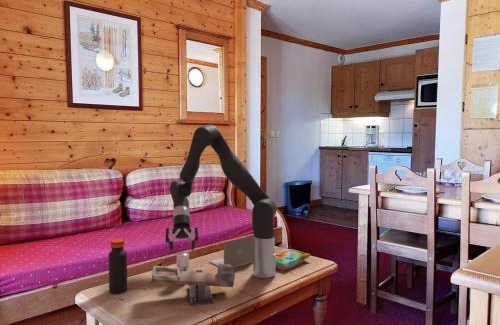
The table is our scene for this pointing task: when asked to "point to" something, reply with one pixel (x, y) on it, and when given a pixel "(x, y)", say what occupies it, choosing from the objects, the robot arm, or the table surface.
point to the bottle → (117, 267)
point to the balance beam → (194, 276)
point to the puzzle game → (290, 259)
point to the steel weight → (183, 261)
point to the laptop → (237, 252)
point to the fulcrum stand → (200, 294)
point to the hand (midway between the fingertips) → (182, 250)
